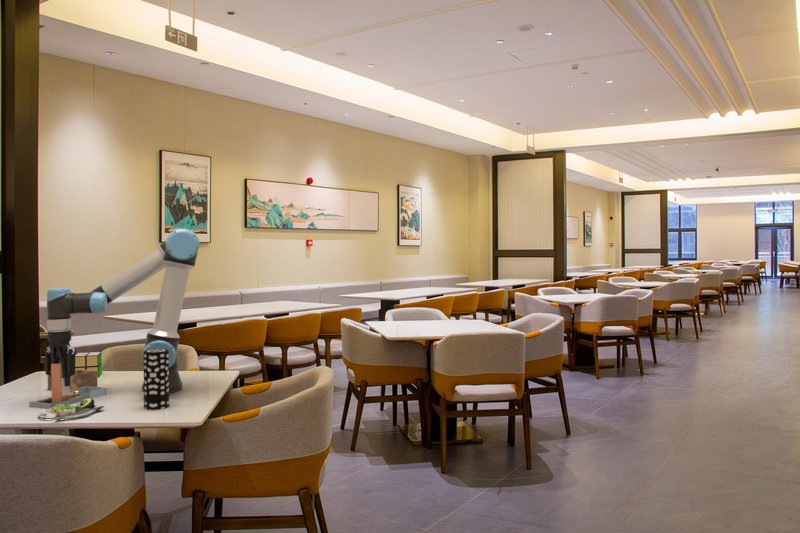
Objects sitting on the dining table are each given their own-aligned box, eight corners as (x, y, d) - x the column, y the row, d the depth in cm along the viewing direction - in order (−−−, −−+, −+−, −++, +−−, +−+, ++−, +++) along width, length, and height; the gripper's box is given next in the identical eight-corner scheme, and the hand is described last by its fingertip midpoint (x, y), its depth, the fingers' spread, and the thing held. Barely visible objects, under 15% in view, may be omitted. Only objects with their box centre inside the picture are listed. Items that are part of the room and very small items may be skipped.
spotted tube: (161, 403, 227) (160, 348, 227) (173, 406, 222) (173, 350, 222) (139, 407, 221) (138, 351, 221) (151, 411, 216) (151, 353, 215)
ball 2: (77, 400, 232) (83, 395, 235) (74, 393, 231) (81, 388, 234) (71, 400, 234) (77, 395, 236) (68, 393, 232) (74, 388, 235)
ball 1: (69, 402, 229) (76, 398, 232) (67, 394, 228) (74, 390, 231) (62, 401, 230) (69, 397, 233) (60, 394, 229) (67, 389, 232)
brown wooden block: (97, 388, 254) (97, 371, 254) (79, 392, 246) (79, 375, 246) (66, 385, 260) (66, 368, 260) (47, 389, 251) (47, 372, 251)
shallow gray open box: (90, 399, 234) (90, 394, 234) (50, 410, 218) (50, 404, 218) (69, 397, 237) (69, 392, 237) (29, 408, 221) (29, 402, 221)
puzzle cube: (77, 374, 284) (77, 352, 284) (102, 373, 287) (101, 351, 287) (73, 378, 275) (73, 356, 275) (98, 377, 278) (98, 355, 278)
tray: (106, 395, 241) (106, 387, 241) (90, 399, 234) (89, 391, 234) (86, 393, 245) (86, 386, 244) (69, 397, 237) (69, 390, 237)
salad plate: (80, 424, 201) (80, 409, 201) (25, 424, 201) (24, 409, 201) (109, 409, 220) (109, 396, 220) (58, 409, 220) (58, 396, 220)
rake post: (69, 401, 228) (68, 362, 228) (60, 403, 225) (59, 364, 224) (61, 400, 230) (60, 362, 229) (51, 402, 226) (51, 364, 226)
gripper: (86, 330, 227) (87, 394, 228) (50, 328, 233) (51, 391, 233) (69, 332, 220) (70, 398, 221) (32, 331, 226) (33, 395, 226)
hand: (60, 394), depth 227 cm, fingers closed on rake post, 4 cm apart
